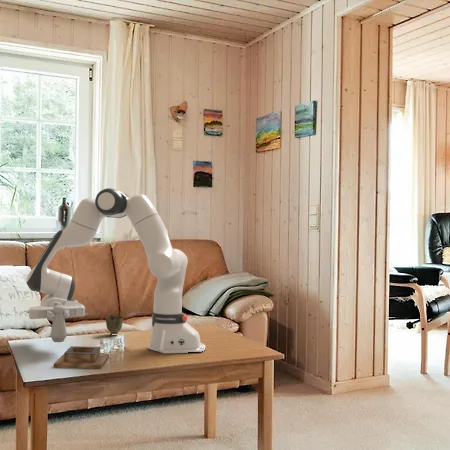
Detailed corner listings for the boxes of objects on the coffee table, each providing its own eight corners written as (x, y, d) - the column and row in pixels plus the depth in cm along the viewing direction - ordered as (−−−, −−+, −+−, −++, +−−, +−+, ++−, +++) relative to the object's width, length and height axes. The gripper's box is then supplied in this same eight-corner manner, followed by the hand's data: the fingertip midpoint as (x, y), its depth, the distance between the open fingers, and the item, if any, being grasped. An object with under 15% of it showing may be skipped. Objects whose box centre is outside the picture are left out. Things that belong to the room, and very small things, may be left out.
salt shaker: (53, 343, 210) (53, 308, 209) (48, 339, 215) (48, 305, 214) (69, 341, 214) (69, 306, 213) (63, 337, 218) (64, 303, 217)
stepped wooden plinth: (108, 356, 214) (109, 345, 214) (101, 368, 198) (101, 356, 198) (64, 355, 213) (65, 344, 213) (53, 367, 197) (53, 354, 197)
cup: (124, 333, 255) (125, 315, 255) (120, 337, 248) (120, 318, 247) (108, 333, 256) (108, 314, 255) (102, 336, 248) (103, 317, 248)
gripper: (26, 302, 222) (29, 308, 209) (81, 300, 230) (87, 305, 217) (26, 319, 222) (29, 325, 209) (81, 316, 230) (87, 322, 217)
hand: (59, 315), depth 213 cm, fingers closed on salt shaker, 3 cm apart
